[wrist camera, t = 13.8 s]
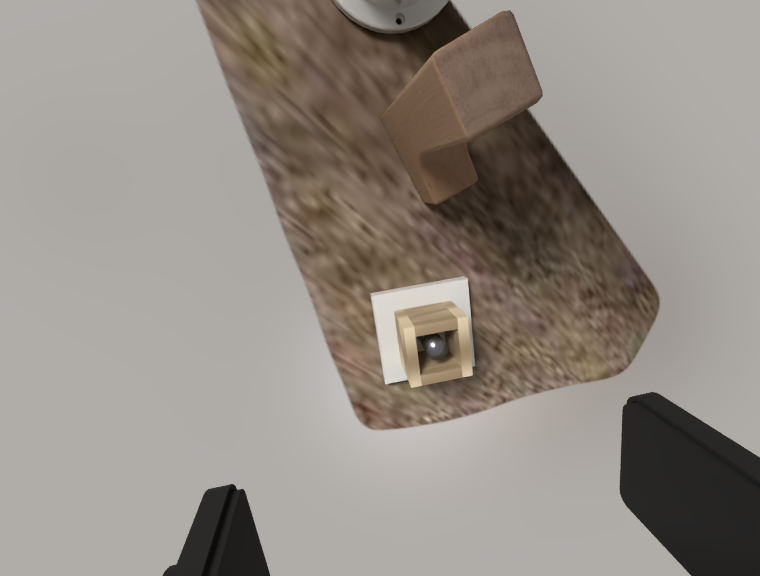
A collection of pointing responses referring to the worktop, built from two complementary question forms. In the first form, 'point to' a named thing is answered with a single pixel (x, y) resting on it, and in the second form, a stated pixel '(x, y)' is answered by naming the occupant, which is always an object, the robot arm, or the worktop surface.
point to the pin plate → (410, 298)
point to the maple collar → (430, 322)
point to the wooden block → (460, 105)
